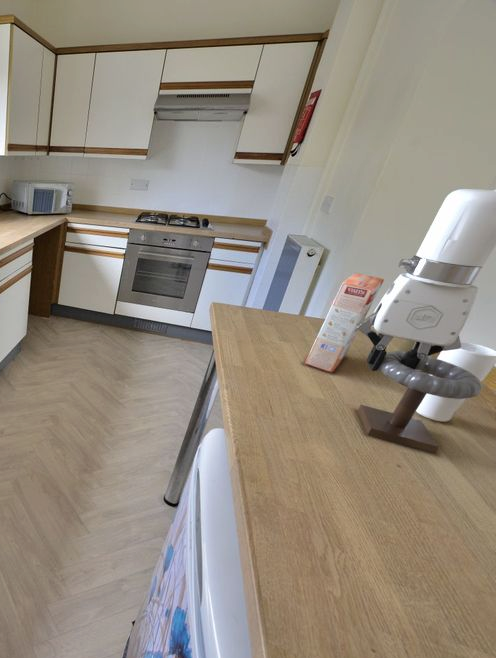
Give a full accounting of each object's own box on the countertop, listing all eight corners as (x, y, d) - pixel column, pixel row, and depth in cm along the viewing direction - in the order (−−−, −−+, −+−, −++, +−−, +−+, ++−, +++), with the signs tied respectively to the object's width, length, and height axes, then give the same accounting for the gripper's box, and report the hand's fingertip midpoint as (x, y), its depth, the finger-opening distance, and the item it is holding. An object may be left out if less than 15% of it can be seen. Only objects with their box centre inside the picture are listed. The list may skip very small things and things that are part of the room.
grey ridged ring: (457, 376, 73) (466, 362, 72) (490, 411, 63) (502, 395, 62) (365, 356, 79) (373, 342, 78) (382, 385, 69) (391, 370, 68)
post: (417, 426, 77) (447, 379, 73) (434, 453, 70) (468, 403, 66) (357, 410, 81) (382, 364, 77) (367, 434, 74) (395, 385, 70)
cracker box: (333, 374, 95) (376, 288, 85) (303, 364, 99) (340, 281, 89) (346, 357, 103) (386, 277, 94) (317, 348, 107) (353, 271, 98)
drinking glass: (400, 408, 83) (439, 342, 76) (418, 402, 85) (458, 337, 79) (443, 428, 77) (489, 358, 71) (461, 421, 80) (508, 353, 73)
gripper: (381, 267, 66) (332, 366, 74) (528, 288, 59) (457, 395, 67) (370, 258, 72) (326, 350, 80) (503, 276, 64) (440, 376, 73)
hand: (386, 370), depth 73 cm, fingers closed on grey ridged ring, 3 cm apart
